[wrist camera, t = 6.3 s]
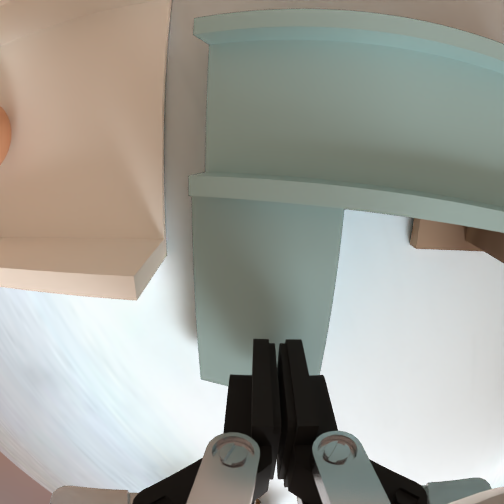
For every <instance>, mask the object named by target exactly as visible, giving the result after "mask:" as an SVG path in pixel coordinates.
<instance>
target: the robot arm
mask: <svg viewBox="0 0 504 504" xmlns="http://www.w3.org/2000/svg"><path fill="white" fill-rule="evenodd" d="M276 459H277V473H278V479H284V487H288V491H290V492H291V493H293V494H294V495H296V496H297V503H298V504H504V487H499V488H494V489H491V487H490V484H489V483H488V482H487V481H486V480H484V479H482V478H468V479H461V480H453V481H443V482H431V483H427V484H426V485H424V486H421V485H419V484H418V483H416V482H414V481H412V480H410V479H408V478H406V477H404V476H401V475H399V474H397V473H395V472H393V471H391V470H389V469H387V468H385V467H383V466H381V465H379V464H377V463H375V462H373V461H371V460H369V458H368V456H367V454H366V452H365V450H364V448H363V446H362V444H361V443H360V441H359V440H358V439H357V438H356V437H355V436H353V435H352V434H349V433H347V432H343V431H338V429H337V425H336V421H335V417H334V413H333V409H332V405H331V401H330V397H329V393H328V389H327V386H326V382H325V378H324V376H323V375H309V372H308V367H307V362H306V357H305V353H304V348H303V343H302V340H301V339H286V340H285V343H280V344H279V352H278V363H277V361H276V349H275V343H269V339H253V358H252V375H233V374H230V377H229V386H228V395H227V405H226V414H225V424H224V434H221V435H218V436H216V437H215V438H213V439H212V440H211V441H210V442H209V444H208V446H207V448H206V450H205V453H204V456H203V458H201V459H200V460H198V461H196V462H195V463H193V464H191V465H189V466H188V467H186V468H184V469H182V470H180V471H179V472H177V473H175V474H173V475H171V476H169V477H168V478H166V479H164V480H162V481H160V482H158V483H156V484H154V485H152V486H150V487H148V488H146V489H144V490H142V491H141V492H139V493H129V492H128V490H112V489H98V488H87V487H78V486H62V487H60V488H57V489H56V490H55V491H54V492H53V494H52V497H51V500H50V504H255V502H256V499H258V498H259V497H260V496H262V495H263V494H264V493H266V492H267V491H268V486H269V479H273V477H274V471H275V465H276Z"/></svg>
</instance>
